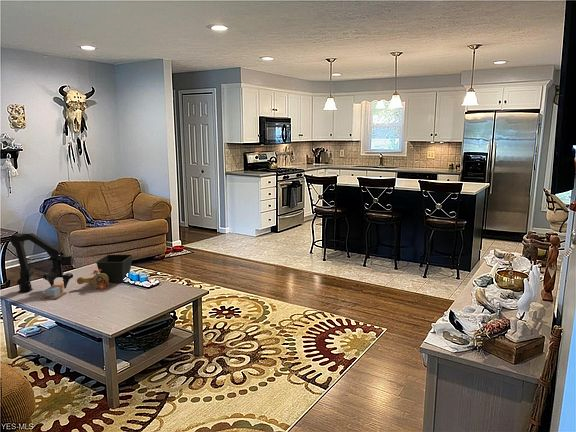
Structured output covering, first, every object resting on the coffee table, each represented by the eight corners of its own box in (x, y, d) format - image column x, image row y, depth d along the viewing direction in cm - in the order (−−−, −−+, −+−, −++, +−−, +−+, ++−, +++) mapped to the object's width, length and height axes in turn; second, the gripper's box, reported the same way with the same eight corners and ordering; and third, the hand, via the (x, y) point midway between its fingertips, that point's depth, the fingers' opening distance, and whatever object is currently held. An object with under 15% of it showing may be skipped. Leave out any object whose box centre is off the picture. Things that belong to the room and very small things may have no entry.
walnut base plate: (40, 299, 277) (40, 297, 277) (51, 292, 288) (51, 291, 288) (56, 299, 276) (56, 298, 276) (66, 293, 287) (66, 292, 287)
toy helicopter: (107, 290, 294) (105, 270, 291) (75, 291, 292) (73, 271, 289) (110, 285, 302) (109, 267, 299) (80, 286, 300) (78, 267, 297)
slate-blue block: (46, 296, 279) (45, 289, 278) (52, 293, 285) (51, 286, 284) (54, 296, 279) (54, 290, 278) (60, 293, 284) (59, 286, 284)
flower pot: (97, 284, 305) (95, 261, 302) (109, 275, 323) (107, 254, 320) (123, 284, 304) (122, 262, 301) (134, 276, 323) (132, 254, 320)
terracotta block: (52, 291, 291) (52, 285, 290) (56, 288, 297) (56, 282, 296) (61, 291, 291) (61, 285, 291) (65, 288, 297) (65, 282, 296)
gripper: (35, 269, 284) (38, 291, 287) (62, 270, 282) (64, 292, 285) (46, 264, 295) (49, 285, 298) (72, 265, 293) (74, 286, 296)
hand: (59, 288), depth 294 cm, fingers open, 9 cm apart
